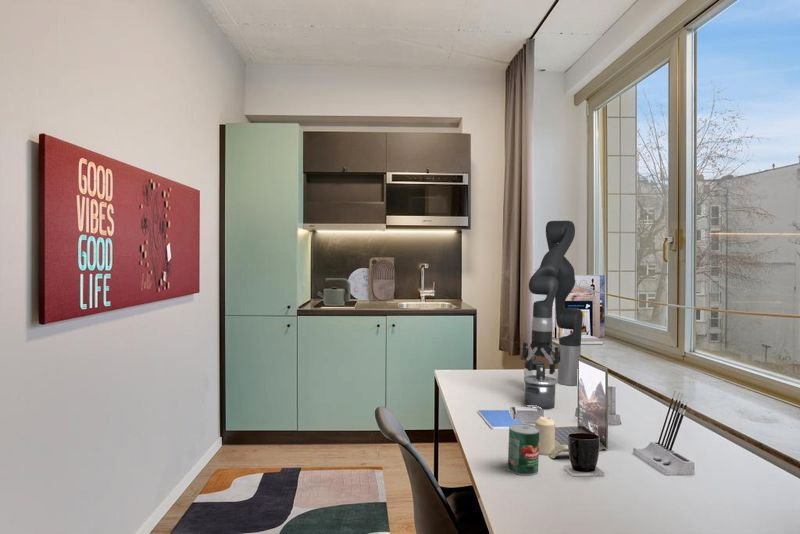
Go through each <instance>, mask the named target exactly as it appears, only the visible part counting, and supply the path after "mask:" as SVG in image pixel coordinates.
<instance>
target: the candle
mask: <svg viewBox="0 0 800 534" xmlns="http://www.w3.org/2000/svg"><path fill="white" fill-rule="evenodd" d="M534 426H536V427H538V428H539V429H540V431H539V455H543V456H550V455H549V453H550V452H551V451H552V450H553V449H554V450H555V441H556V439H555V438H556V422H555V421H554V420H553V419H552V417H547V416H546V417H545V416H539V417H538V418H537V419H536V420H535V425H534Z"/></svg>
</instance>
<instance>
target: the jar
mask: <svg viewBox="0 0 800 534" xmlns="http://www.w3.org/2000/svg"><path fill="white" fill-rule="evenodd" d="M532 361H533V363H532V370H531V371H528V369H527V360H524V368H523V378H524V377H525V376H530V375H536V366H537V365H544V366H545V367H546V365H545V364H546V363H545V362H544V361H542V360H541V361H540V360H533V359H532ZM523 391H524V392H525V381H524V380H523Z"/></svg>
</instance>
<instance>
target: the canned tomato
mask: <svg viewBox="0 0 800 534" xmlns="http://www.w3.org/2000/svg"><path fill="white" fill-rule="evenodd" d="M539 431H540V429H539V428H538V427H536V426H535V425H533V424H529V423H524V424H521V423H519V424H512V425H510V426H509V429H508V456H507V457H508V458H507V470H508V471H509V472H511V473H512V474H515V475H519V476H525V477H526V476H535V475H536V474H538V473H539V461H540V460H539V456H540V454H539Z"/></svg>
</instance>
